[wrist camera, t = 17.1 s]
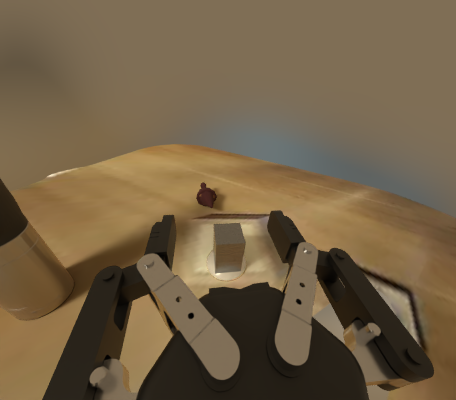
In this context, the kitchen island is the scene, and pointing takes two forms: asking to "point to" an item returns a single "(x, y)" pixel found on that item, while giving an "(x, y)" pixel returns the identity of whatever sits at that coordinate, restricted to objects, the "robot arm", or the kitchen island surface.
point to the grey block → (228, 247)
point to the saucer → (224, 276)
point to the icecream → (206, 196)
